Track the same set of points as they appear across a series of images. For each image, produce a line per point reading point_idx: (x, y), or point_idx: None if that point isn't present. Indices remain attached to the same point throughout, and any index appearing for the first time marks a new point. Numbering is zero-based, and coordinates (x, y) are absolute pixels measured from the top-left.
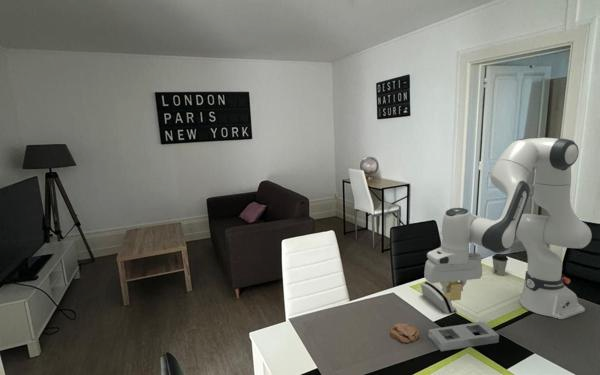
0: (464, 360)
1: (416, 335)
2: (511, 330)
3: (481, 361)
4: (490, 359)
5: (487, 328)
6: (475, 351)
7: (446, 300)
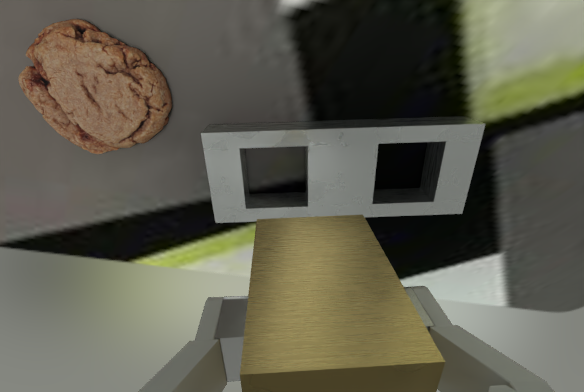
0: None
1: (142, 138)
2: (559, 146)
3: None
4: None
5: (458, 171)
6: None
7: None
